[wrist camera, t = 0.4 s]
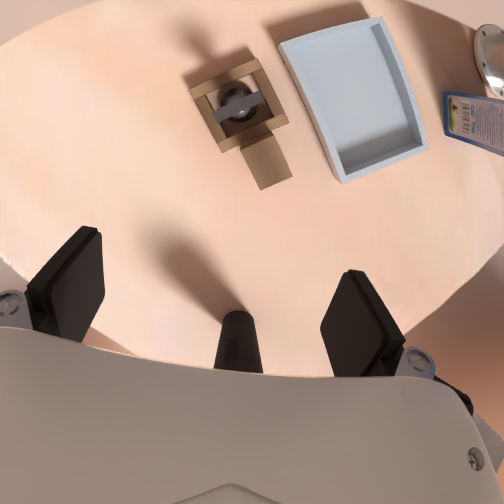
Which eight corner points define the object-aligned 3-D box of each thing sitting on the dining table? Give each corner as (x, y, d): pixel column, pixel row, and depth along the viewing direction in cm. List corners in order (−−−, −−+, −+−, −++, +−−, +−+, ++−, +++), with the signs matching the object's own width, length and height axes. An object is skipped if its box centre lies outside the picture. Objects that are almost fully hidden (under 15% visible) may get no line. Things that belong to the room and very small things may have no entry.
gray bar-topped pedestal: (248, 81, 28) (251, 74, 20) (264, 112, 30) (272, 117, 22) (214, 97, 29) (202, 96, 21) (230, 127, 31) (224, 139, 22)
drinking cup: (205, 327, 46) (192, 441, 28) (229, 296, 43) (223, 419, 25) (246, 344, 48) (248, 454, 30) (272, 316, 45) (286, 433, 27)
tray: (371, 21, 24) (381, 16, 21) (417, 144, 32) (429, 149, 29) (276, 47, 26) (280, 43, 24) (334, 177, 34) (341, 184, 32)
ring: (256, 60, 27) (259, 52, 22) (302, 156, 33) (313, 167, 28) (191, 90, 29) (180, 89, 23) (240, 183, 34) (239, 199, 29)
